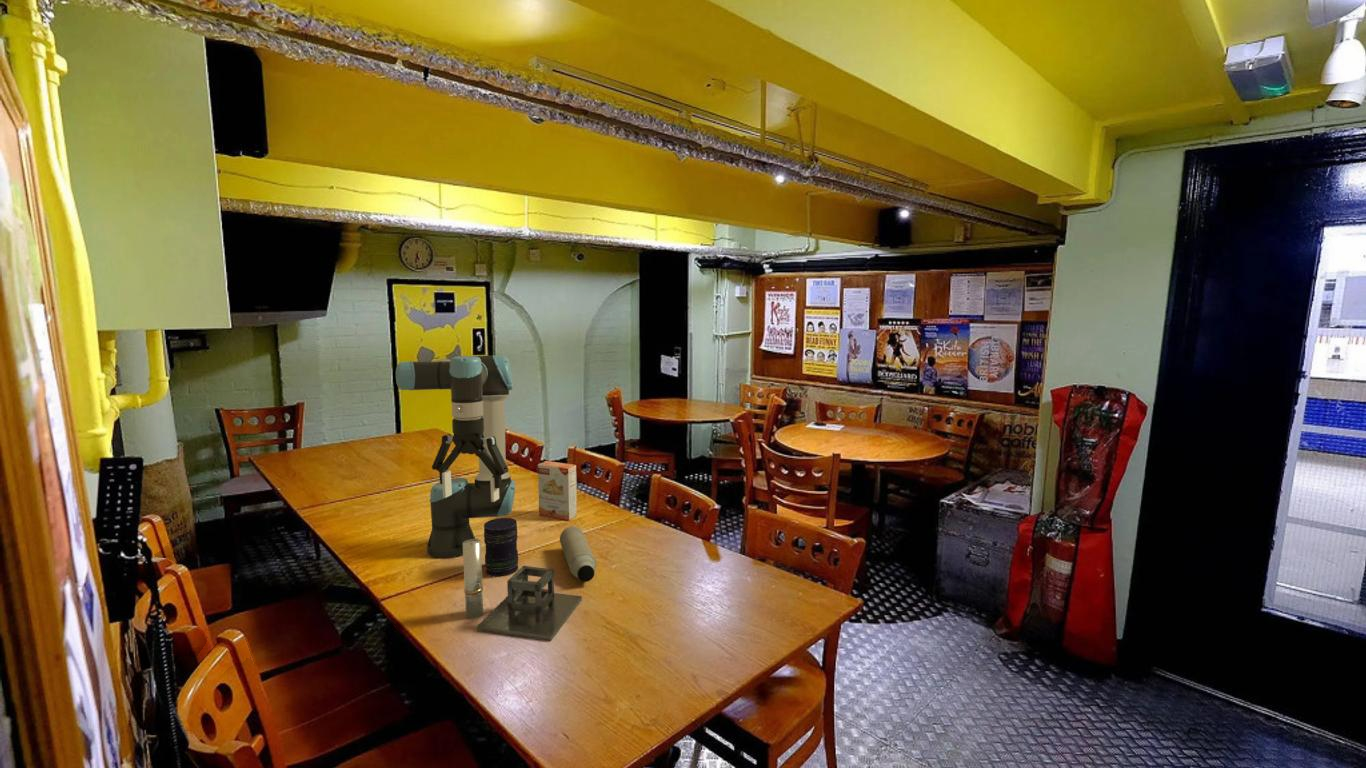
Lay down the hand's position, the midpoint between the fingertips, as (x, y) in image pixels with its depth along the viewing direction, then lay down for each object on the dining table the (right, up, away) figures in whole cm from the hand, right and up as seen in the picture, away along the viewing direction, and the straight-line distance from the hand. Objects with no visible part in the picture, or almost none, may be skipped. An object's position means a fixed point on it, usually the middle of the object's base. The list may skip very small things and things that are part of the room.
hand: (471, 498), depth 148 cm
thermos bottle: (+17, -22, +45) cm, 53 cm away
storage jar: (-1, -28, +30) cm, 41 cm away
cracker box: (+6, -22, +75) cm, 78 cm away
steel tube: (-1, -32, +4) cm, 32 cm away
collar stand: (+15, -32, +4) cm, 35 cm away
